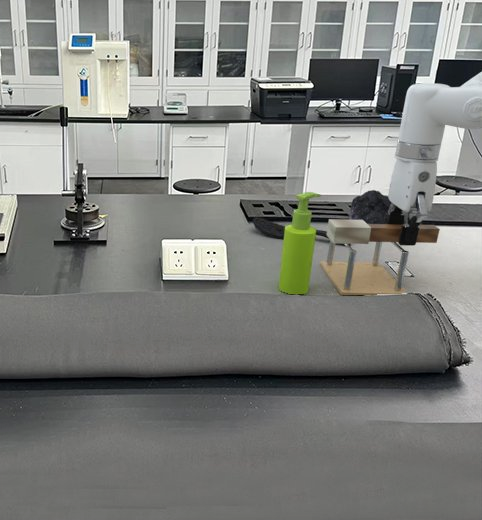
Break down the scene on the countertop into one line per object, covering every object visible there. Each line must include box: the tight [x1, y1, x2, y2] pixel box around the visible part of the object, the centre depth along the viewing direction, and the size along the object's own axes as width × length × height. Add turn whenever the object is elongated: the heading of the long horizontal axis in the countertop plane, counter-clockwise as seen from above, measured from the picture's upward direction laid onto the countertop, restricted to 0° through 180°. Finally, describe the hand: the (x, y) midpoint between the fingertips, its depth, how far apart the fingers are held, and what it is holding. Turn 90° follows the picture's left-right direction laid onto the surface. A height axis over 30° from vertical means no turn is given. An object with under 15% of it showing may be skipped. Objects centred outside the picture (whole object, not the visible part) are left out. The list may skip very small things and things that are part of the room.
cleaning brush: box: [326, 218, 441, 245], centre depth 109 cm, size 21×5×4 cm, turn 87°
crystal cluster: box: [348, 189, 391, 224], centre depth 144 cm, size 13×14×10 cm
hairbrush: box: [252, 214, 352, 247], centre depth 137 cm, size 8×4×25 cm
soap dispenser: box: [277, 191, 322, 295], centre depth 105 cm, size 6×7×20 cm
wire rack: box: [319, 239, 410, 296], centre depth 111 cm, size 13×16×9 cm
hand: (399, 238), depth 109 cm, fingers open, 6 cm apart
